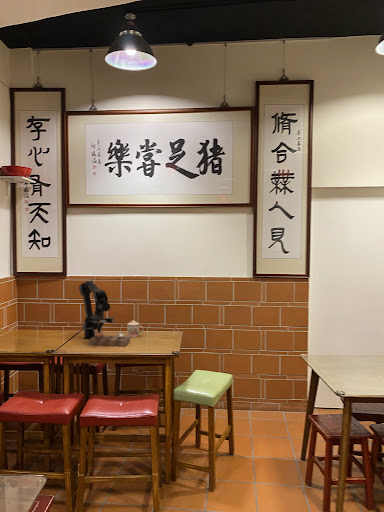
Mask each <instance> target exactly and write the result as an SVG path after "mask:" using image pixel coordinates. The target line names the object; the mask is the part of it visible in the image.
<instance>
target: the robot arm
mask: <svg viewBox="0 0 384 512" xmlns="http://www.w3.org/2000/svg"><path fill="white" fill-rule="evenodd" d="M78 292H79V294H80V295H81V296H82V299H83V305H84V313H85V317H84V321H83V322H84V323H83V325H82V330H83V331H84V334H83V335H84V337H83V339H84V340H90V338H92V337H94V336H95V332H96V330H97V332H100V331H101V332H102V329H103V326H104V325H105V324H106V323H107V324H111V323H112V324H113V323H114V322H115V318H114V317H112V316H108V317H106V318H105V312H108V311H109V310H110V309H111V304H110V303H109V302H108V301H109V299H108V296H107V295H108V294H107V293H106V291H105V290H104V289H103V288H99V287H98V286H97V285H96V284H95V283H94V281H93V280H86V281H85V282H83V283H80V285H79V286H78ZM91 293H92V297H93V298H94V304H95V305H94V309H95V310H94V312H93V306H92V301H91Z"/></svg>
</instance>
